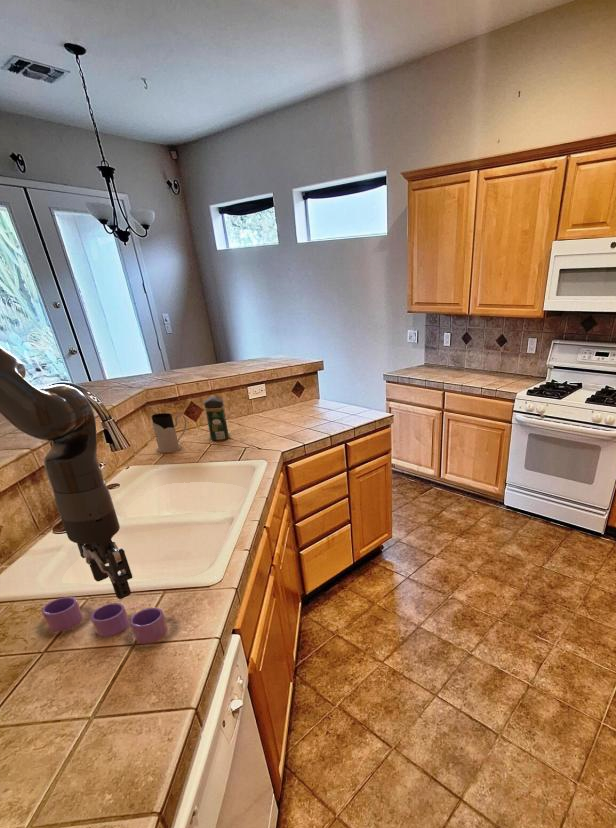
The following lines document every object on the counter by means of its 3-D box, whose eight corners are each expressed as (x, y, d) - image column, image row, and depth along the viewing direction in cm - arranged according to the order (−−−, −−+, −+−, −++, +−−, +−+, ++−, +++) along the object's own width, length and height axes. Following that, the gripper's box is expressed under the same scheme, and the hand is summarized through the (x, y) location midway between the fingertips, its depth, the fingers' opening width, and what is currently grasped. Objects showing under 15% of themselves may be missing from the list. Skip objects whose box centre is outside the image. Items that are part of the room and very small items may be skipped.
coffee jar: (211, 435, 203) (204, 396, 195) (229, 434, 206) (222, 395, 197) (209, 441, 195) (202, 400, 187) (228, 440, 197) (221, 399, 189)
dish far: (130, 635, 83) (124, 618, 82) (158, 620, 87) (153, 603, 86) (144, 648, 81) (138, 631, 79) (173, 631, 85) (168, 615, 83)
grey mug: (153, 450, 182) (145, 415, 176) (184, 442, 193) (177, 409, 186) (165, 454, 178) (157, 419, 171) (196, 446, 189) (189, 412, 182)
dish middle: (92, 630, 85) (85, 613, 83) (121, 615, 89) (116, 599, 87) (105, 642, 82) (98, 625, 80) (135, 626, 86) (129, 610, 84)
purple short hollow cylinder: (44, 623, 86) (36, 607, 84) (76, 609, 90) (69, 593, 88) (55, 635, 83) (48, 618, 81) (87, 620, 87) (81, 603, 85)
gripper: (43, 505, 73) (73, 582, 80) (81, 531, 66) (109, 613, 73) (92, 491, 78) (115, 565, 86) (131, 514, 71) (153, 592, 79)
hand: (113, 587), depth 80 cm, fingers open, 8 cm apart
